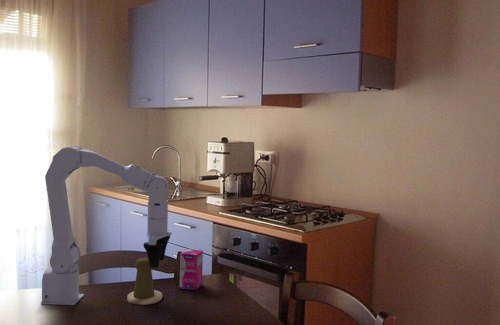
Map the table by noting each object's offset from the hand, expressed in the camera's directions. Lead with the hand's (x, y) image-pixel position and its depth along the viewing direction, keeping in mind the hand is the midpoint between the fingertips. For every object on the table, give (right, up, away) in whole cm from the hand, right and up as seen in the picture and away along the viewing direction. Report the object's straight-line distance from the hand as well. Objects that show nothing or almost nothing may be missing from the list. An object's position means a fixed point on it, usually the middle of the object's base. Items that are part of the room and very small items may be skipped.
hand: (157, 263), depth 137 cm
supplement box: (+8, -10, +12) cm, 18 cm away
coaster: (-4, -10, +1) cm, 11 cm away
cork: (-4, -10, 0) cm, 10 cm away
